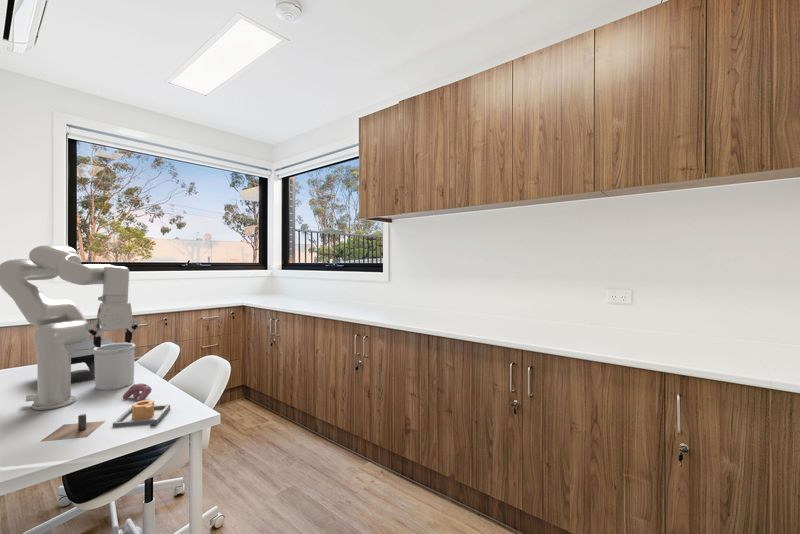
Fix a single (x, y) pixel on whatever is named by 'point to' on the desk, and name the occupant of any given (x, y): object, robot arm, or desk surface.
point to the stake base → (74, 430)
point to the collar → (143, 410)
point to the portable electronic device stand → (84, 358)
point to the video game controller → (138, 391)
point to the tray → (140, 422)
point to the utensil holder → (114, 365)
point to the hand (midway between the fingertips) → (113, 344)
